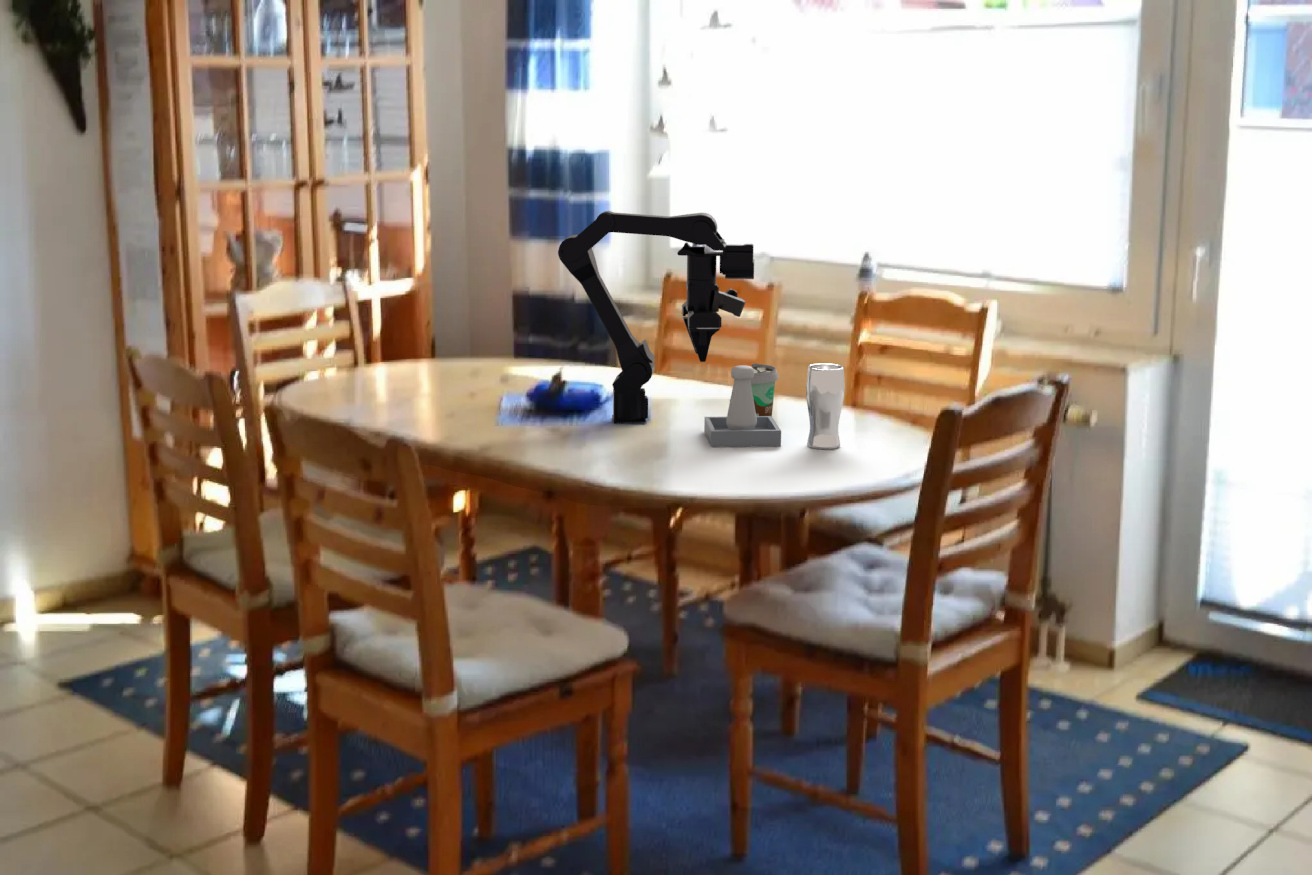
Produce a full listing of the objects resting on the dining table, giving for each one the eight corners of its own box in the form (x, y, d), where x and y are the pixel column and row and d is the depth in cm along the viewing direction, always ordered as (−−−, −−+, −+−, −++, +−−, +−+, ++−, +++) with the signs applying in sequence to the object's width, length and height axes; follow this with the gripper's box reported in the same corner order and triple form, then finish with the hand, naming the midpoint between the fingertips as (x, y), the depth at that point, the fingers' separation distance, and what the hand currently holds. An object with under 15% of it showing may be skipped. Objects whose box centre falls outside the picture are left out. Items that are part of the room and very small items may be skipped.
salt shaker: (736, 438, 292) (737, 369, 289) (720, 432, 297) (721, 365, 294) (762, 435, 295) (764, 367, 292) (746, 429, 300) (747, 362, 297)
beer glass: (832, 451, 286) (834, 371, 283) (798, 447, 290) (800, 367, 286) (848, 444, 292) (851, 365, 289) (815, 440, 296) (817, 362, 292)
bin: (711, 447, 289) (711, 431, 289) (704, 431, 302) (704, 416, 301) (780, 446, 290) (781, 430, 290) (771, 431, 303) (771, 416, 302)
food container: (773, 424, 309) (774, 374, 307) (742, 423, 310) (743, 373, 308) (781, 412, 321) (782, 364, 319) (751, 410, 322) (752, 362, 320)
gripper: (748, 284, 296) (747, 365, 299) (737, 272, 314) (736, 349, 318) (689, 284, 295) (688, 366, 299) (681, 273, 313) (681, 350, 317)
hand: (700, 357), depth 308 cm, fingers open, 9 cm apart
